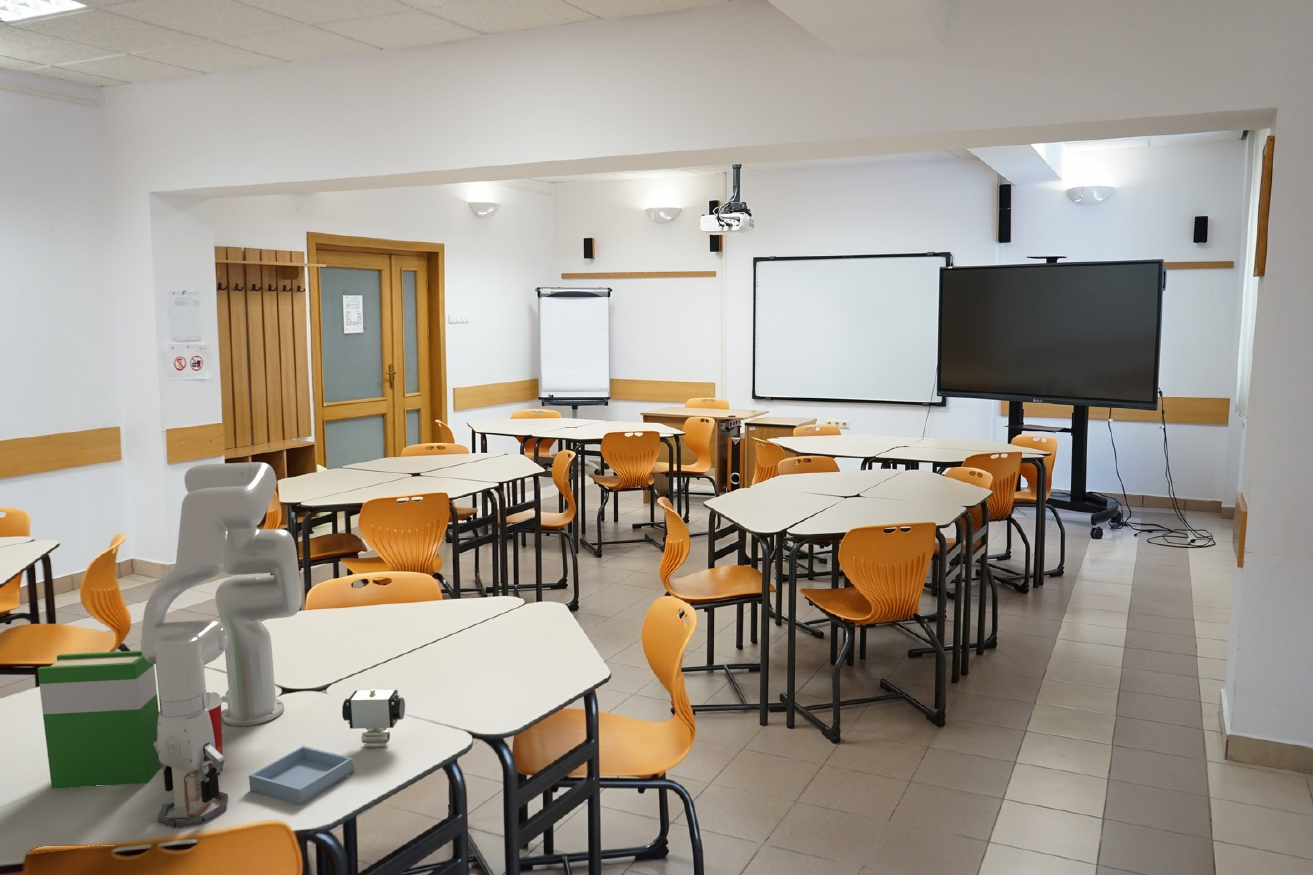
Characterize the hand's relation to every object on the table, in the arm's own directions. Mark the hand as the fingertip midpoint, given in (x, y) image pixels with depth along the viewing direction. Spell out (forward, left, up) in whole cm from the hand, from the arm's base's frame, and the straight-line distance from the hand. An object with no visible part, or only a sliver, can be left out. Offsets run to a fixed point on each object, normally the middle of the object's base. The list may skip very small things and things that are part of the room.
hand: (192, 793), depth 171 cm
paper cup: (-13, +13, -4) cm, 19 cm away
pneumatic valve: (+12, +34, -4) cm, 36 cm away
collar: (0, 0, -3) cm, 3 cm away
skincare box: (0, 0, -4) cm, 4 cm away
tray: (+10, +16, -3) cm, 19 cm away
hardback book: (-27, +2, -4) cm, 27 cm away
